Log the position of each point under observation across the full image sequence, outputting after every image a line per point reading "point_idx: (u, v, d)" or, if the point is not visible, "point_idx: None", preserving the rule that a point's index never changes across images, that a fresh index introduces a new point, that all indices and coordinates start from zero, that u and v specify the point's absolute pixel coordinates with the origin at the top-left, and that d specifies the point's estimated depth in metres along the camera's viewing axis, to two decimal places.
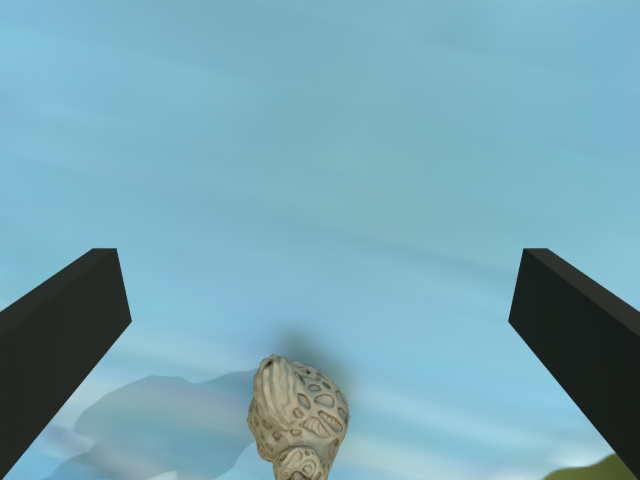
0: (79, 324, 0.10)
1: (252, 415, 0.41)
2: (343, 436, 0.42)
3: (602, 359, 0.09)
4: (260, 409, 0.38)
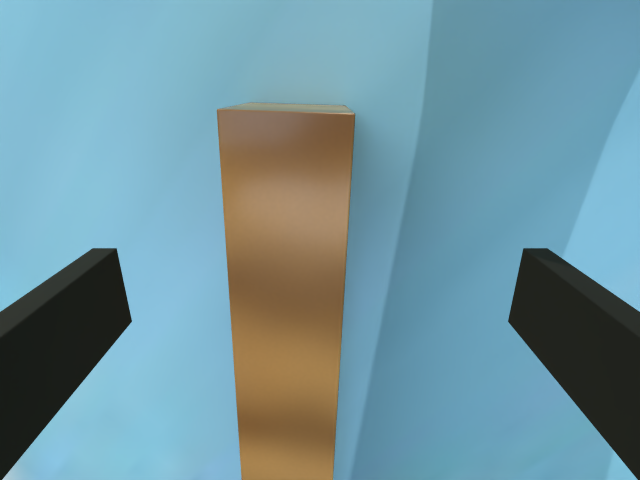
0: (79, 324, 0.10)
1: None
2: None
3: (602, 359, 0.09)
4: None
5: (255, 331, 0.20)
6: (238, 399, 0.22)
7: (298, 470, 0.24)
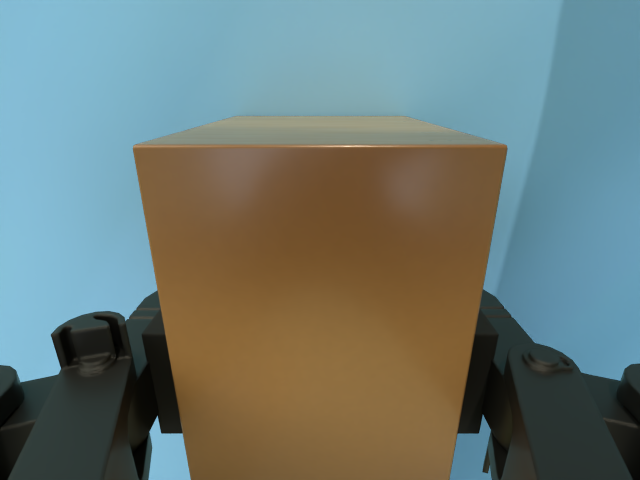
0: None
1: None
2: None
3: None
4: None
5: None
6: None
7: None
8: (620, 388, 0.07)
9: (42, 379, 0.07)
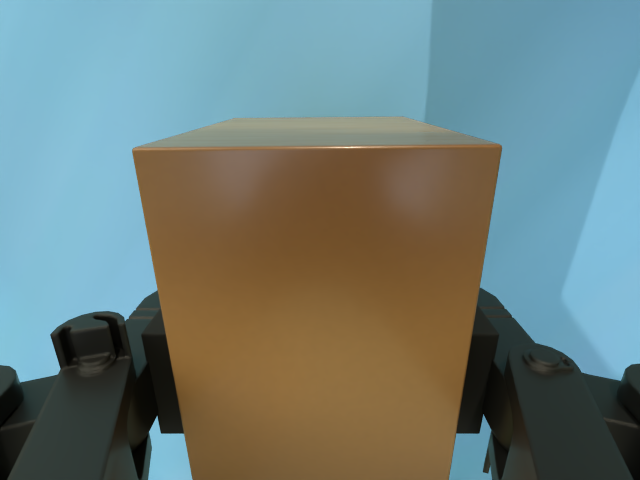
0: None
1: None
2: None
3: None
4: None
5: None
6: None
7: None
8: (620, 388, 0.07)
9: (42, 379, 0.07)
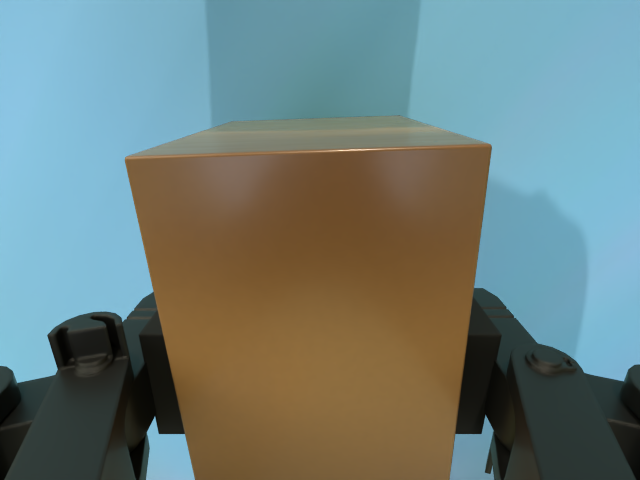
0: None
1: None
2: None
3: None
4: None
5: None
6: None
7: None
8: (623, 388, 0.07)
9: (39, 380, 0.07)
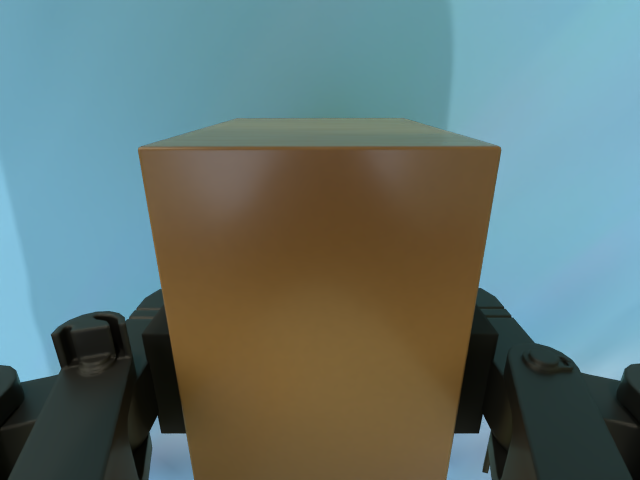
0: None
1: None
2: None
3: None
4: None
5: None
6: None
7: None
8: (620, 388, 0.07)
9: (42, 379, 0.07)
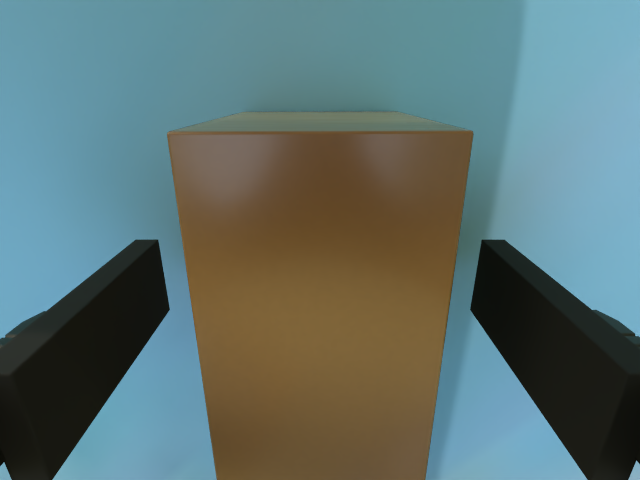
0: (130, 309, 0.11)
1: None
2: None
3: (539, 339, 0.09)
4: None
5: None
6: None
7: None
8: None
9: None
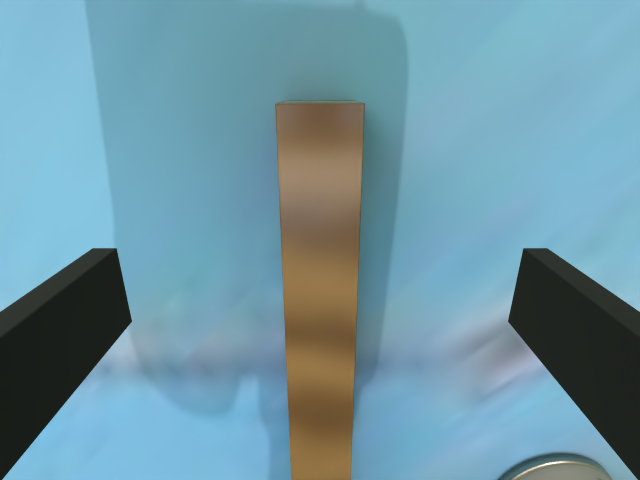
0: (79, 324, 0.10)
1: None
2: None
3: (602, 359, 0.09)
4: None
5: (298, 259, 0.29)
6: (285, 312, 0.30)
7: (329, 368, 0.32)
8: None
9: None
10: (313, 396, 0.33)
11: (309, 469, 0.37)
